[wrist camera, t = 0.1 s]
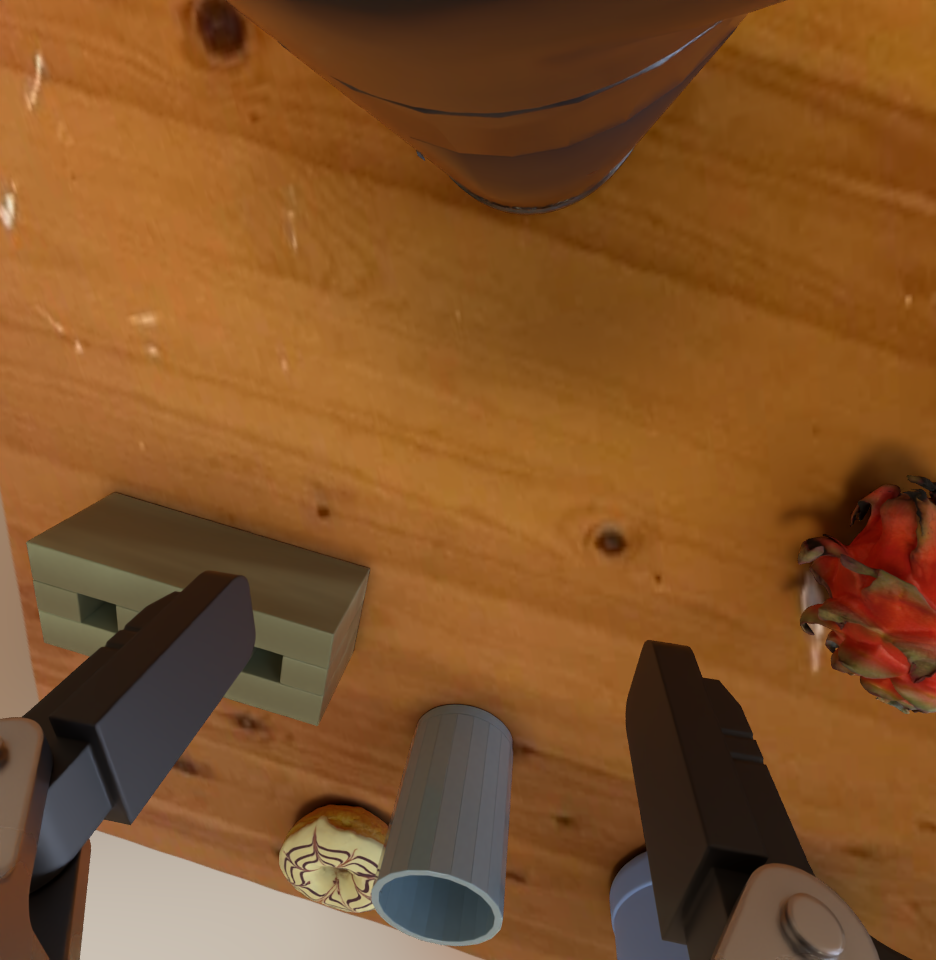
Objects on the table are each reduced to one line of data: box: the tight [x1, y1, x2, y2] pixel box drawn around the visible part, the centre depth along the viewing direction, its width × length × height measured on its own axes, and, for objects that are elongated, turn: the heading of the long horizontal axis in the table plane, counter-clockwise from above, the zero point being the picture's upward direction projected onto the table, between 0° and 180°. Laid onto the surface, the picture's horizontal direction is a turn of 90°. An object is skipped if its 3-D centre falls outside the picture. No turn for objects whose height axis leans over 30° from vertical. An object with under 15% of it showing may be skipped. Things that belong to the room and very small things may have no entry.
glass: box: [371, 704, 513, 946], centre depth 32 cm, size 7×7×10 cm
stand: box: [26, 493, 370, 726], centre depth 30 cm, size 7×17×6 cm, turn 75°
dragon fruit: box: [798, 475, 936, 714], centre depth 23 cm, size 8×8×12 cm
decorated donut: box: [279, 805, 388, 913], centre depth 42 cm, size 10×11×4 cm
